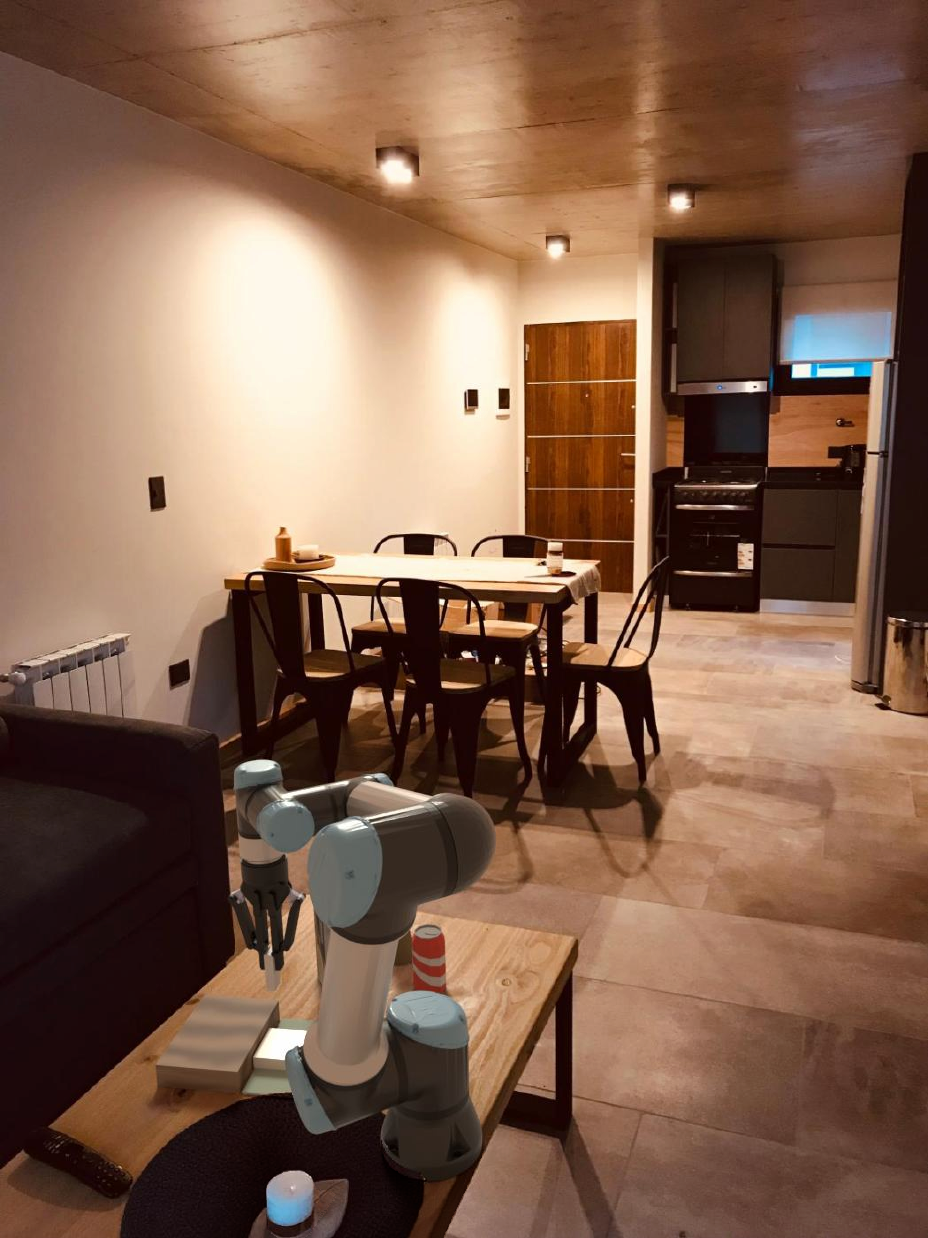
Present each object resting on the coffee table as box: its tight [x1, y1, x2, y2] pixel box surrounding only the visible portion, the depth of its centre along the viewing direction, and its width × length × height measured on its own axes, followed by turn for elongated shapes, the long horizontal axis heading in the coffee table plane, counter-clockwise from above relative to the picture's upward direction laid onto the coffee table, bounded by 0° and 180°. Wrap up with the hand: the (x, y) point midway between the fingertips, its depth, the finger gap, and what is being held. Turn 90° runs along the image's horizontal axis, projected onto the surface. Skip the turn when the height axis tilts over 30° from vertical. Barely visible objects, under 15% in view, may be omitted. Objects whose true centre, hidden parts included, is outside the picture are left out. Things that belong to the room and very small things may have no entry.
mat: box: [241, 1017, 315, 1096], centre depth 173 cm, size 20×15×1 cm
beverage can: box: [411, 923, 447, 994], centre depth 191 cm, size 6×6×12 cm
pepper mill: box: [393, 929, 413, 967], centre depth 202 cm, size 6×6×11 cm
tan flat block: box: [155, 994, 281, 1094], centre depth 175 cm, size 20×14×4 cm
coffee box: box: [312, 907, 331, 987], centre depth 194 cm, size 9×6×16 cm
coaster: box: [253, 1028, 307, 1070], centre depth 173 cm, size 8×8×2 cm
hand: (273, 986), depth 171 cm, fingers closed
